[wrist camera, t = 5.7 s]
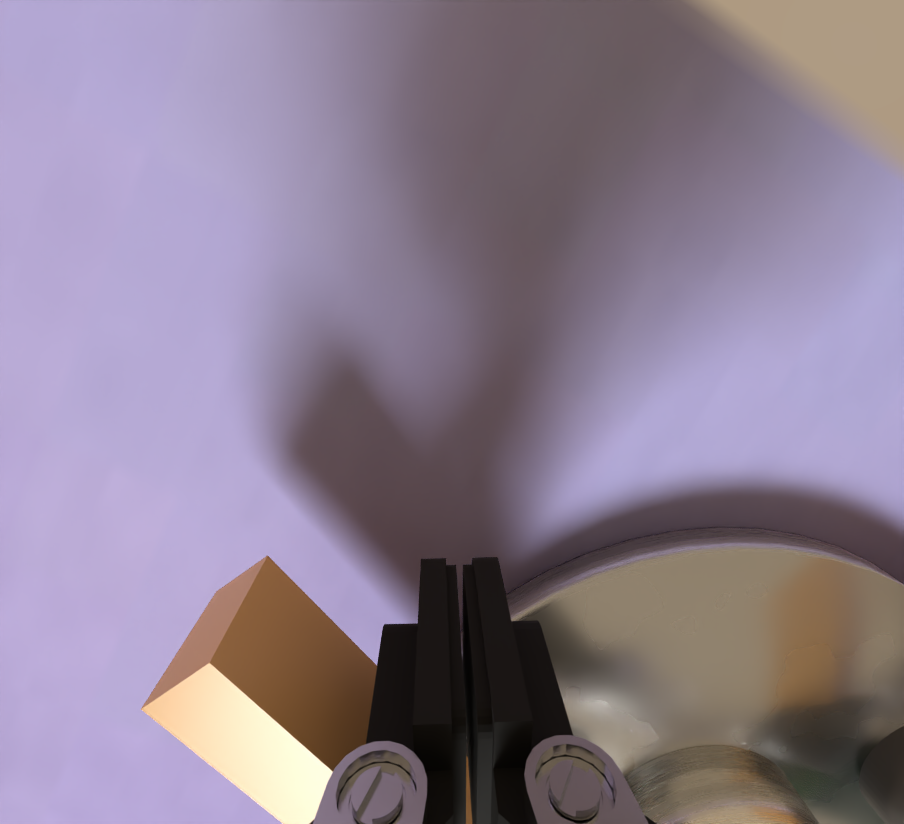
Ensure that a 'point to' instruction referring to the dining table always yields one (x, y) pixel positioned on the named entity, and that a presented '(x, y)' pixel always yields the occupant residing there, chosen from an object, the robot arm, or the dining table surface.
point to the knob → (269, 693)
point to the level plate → (728, 670)
